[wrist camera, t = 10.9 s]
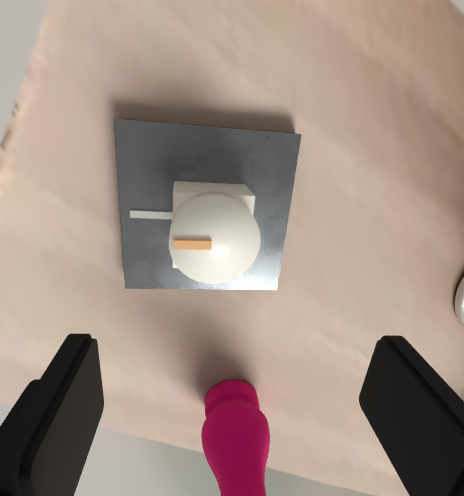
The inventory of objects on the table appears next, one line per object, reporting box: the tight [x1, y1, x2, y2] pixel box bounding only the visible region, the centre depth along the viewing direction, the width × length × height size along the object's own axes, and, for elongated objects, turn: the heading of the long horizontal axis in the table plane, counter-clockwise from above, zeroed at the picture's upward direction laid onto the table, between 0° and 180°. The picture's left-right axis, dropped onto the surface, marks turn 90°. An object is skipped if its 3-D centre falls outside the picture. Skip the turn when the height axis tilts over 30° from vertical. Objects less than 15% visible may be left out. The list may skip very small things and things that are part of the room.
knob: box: [169, 181, 261, 284], centre depth 22 cm, size 6×6×6 cm
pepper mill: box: [201, 380, 270, 496], centre depth 27 cm, size 7×7×20 cm
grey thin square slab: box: [114, 119, 301, 290], centre depth 24 cm, size 14×14×5 cm
